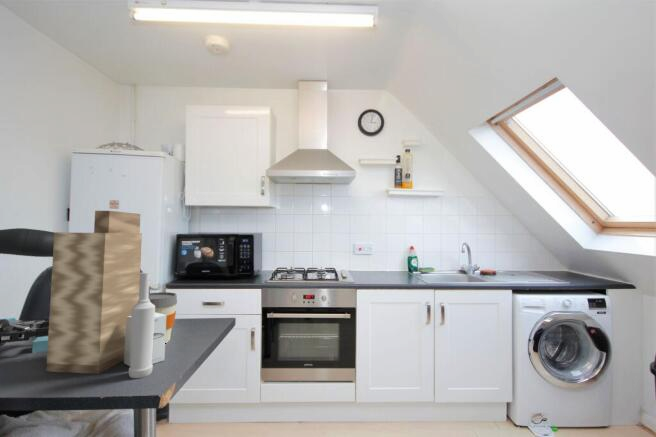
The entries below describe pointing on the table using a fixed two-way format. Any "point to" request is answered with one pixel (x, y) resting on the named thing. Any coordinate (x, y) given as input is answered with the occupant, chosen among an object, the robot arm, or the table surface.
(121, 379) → the table surface
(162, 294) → the reusable coffee cup
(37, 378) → the table surface
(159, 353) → the supplement box
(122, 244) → the brown tall stepped block
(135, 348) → the bottle
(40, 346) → the long light blue beam
